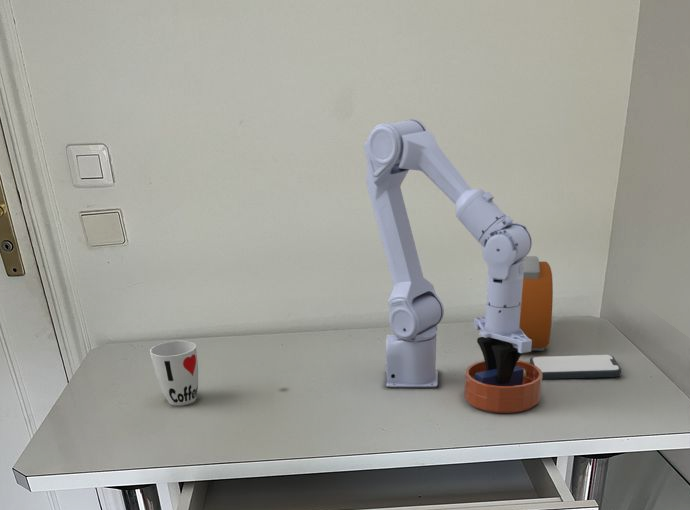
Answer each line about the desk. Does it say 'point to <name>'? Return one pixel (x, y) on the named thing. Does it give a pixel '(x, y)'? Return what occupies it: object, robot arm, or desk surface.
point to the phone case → (577, 366)
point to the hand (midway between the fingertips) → (498, 379)
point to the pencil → (491, 377)
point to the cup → (176, 370)
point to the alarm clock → (536, 302)
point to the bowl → (503, 390)
